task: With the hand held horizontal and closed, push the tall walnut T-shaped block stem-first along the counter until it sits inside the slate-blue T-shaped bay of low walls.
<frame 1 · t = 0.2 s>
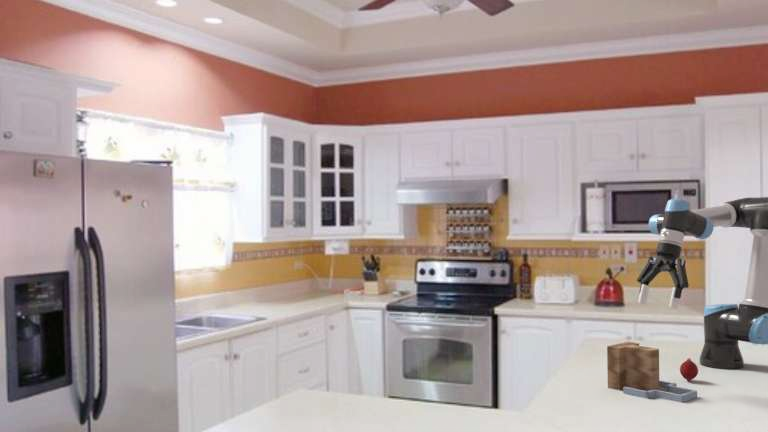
hand: (656, 305, 236), 28 cm above the counter, tool tilted 20°, fingers open, 13 cm apart
tee block: (635, 388, 237), on the counter
onion: (689, 381, 246), on the counter
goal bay: (657, 392, 231), on the counter
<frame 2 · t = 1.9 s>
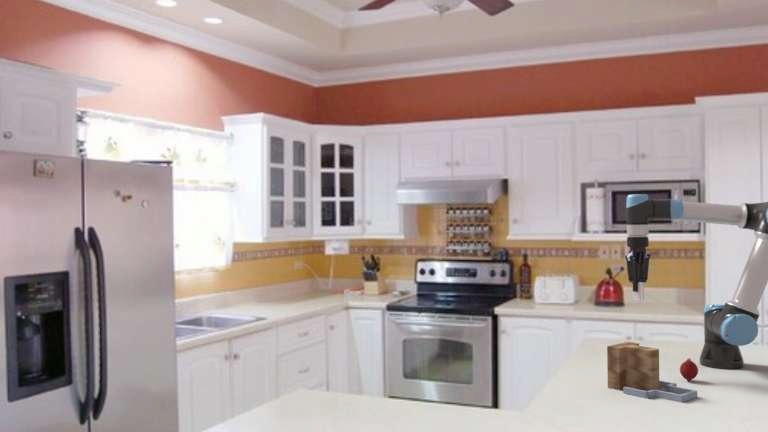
hand: (638, 300, 260), 26 cm above the counter, tool pointing down, fingers closed
nothing on the counter moved.
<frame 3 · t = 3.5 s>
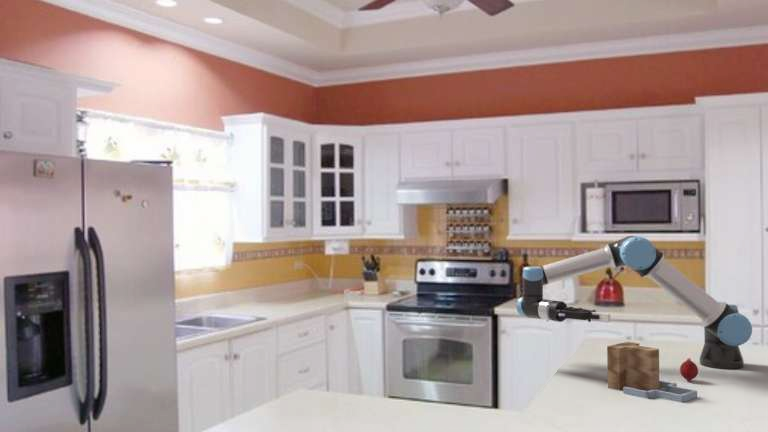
hand: (608, 318, 245), 22 cm above the counter, tool horizontal, fingers closed
nothing on the counter moved.
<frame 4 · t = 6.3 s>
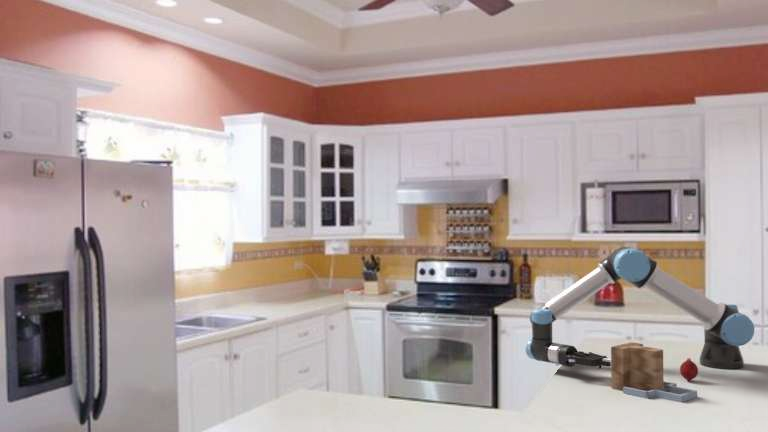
hand: (620, 365, 241), 7 cm above the counter, tool horizontal, fingers closed
tee block: (639, 389, 236), on the counter
everything else where it was.
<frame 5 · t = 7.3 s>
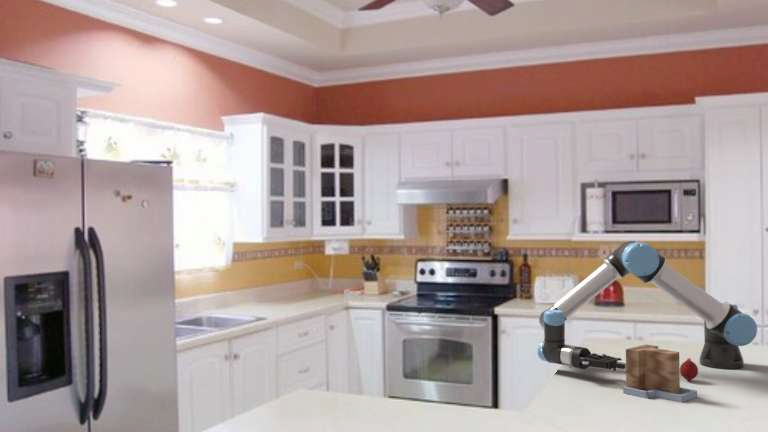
hand: (635, 367, 237), 7 cm above the counter, tool horizontal, fingers closed
tee block: (654, 392, 232), on the counter, touching gripper
everything else where it was.
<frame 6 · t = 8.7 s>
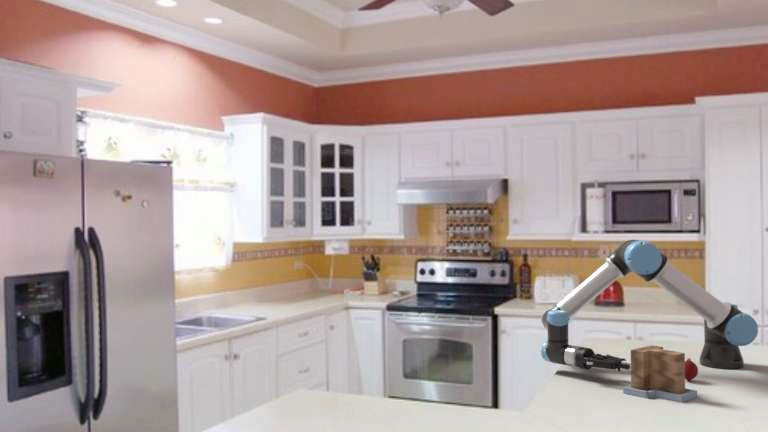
hand: (639, 368, 236), 7 cm above the counter, tool horizontal, fingers closed
tee block: (659, 393, 230), on the counter
everything else where it was.
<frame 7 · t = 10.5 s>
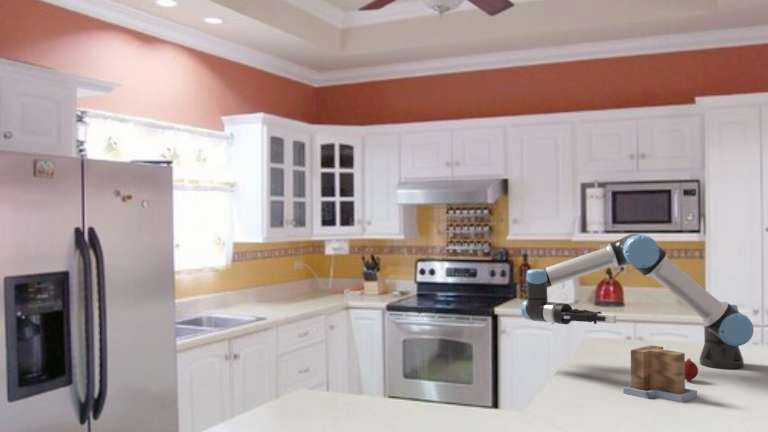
hand: (614, 319, 242), 22 cm above the counter, tool horizontal, fingers closed
nothing on the counter moved.
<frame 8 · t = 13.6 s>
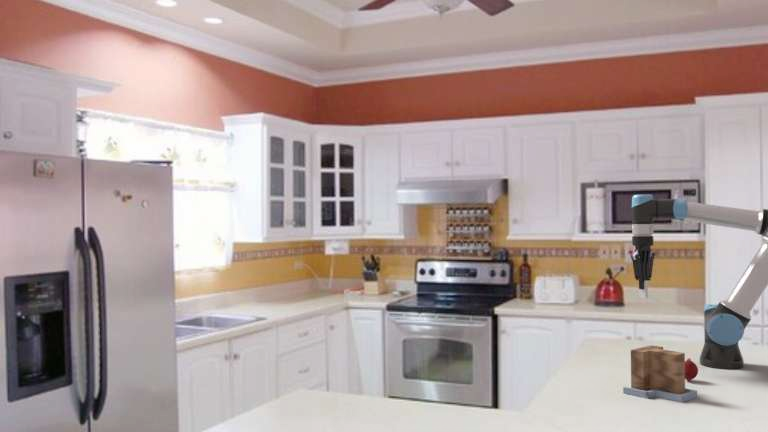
hand: (643, 297, 267), 26 cm above the counter, tool pointing down, fingers closed
nothing on the counter moved.
at the end: tee block 0.8 cm from the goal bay (horizontally); tee block tilted 0°; tee block moved 8.8 cm from its start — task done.
